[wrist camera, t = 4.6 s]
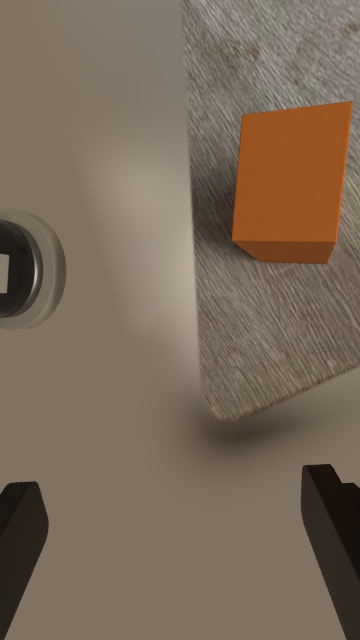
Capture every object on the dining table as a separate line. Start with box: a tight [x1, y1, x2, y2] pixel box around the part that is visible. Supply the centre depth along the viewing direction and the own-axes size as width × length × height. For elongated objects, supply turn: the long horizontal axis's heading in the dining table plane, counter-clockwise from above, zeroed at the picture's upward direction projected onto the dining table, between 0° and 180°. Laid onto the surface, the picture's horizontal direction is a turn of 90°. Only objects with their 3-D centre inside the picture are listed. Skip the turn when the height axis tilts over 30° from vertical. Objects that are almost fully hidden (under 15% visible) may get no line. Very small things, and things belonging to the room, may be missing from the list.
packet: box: [231, 101, 353, 264], centre depth 16 cm, size 4×5×8 cm
